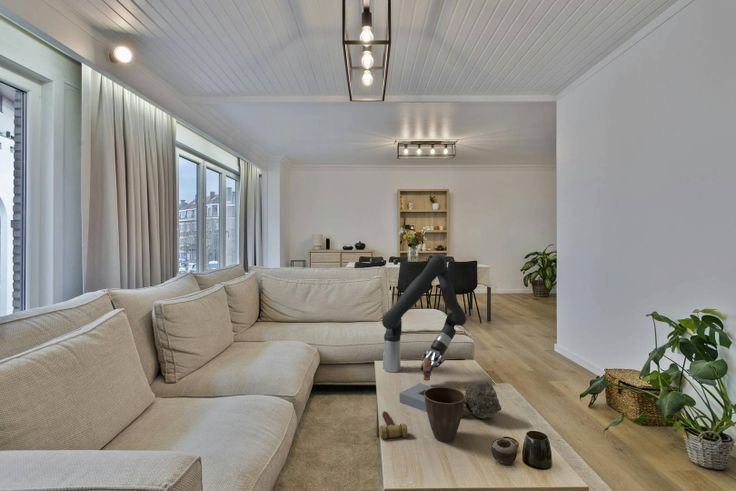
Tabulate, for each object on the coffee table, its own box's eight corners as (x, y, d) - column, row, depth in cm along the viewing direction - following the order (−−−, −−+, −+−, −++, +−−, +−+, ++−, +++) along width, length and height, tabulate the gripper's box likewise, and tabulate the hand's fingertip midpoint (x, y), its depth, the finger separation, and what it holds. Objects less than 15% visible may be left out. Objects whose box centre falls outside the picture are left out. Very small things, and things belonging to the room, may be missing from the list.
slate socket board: (399, 401, 167) (399, 393, 167) (419, 391, 178) (419, 383, 178) (432, 414, 154) (432, 405, 154) (452, 402, 166) (452, 393, 166)
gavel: (372, 407, 155) (395, 405, 157) (372, 418, 155) (395, 416, 156) (381, 428, 135) (407, 426, 136) (381, 441, 134) (407, 439, 136)
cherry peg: (421, 379, 185) (421, 359, 185) (425, 377, 188) (425, 357, 188) (428, 381, 182) (428, 361, 182) (432, 379, 185) (432, 359, 185)
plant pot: (436, 422, 147) (436, 383, 147) (471, 435, 138) (471, 393, 137) (416, 438, 136) (416, 395, 135) (453, 453, 126) (453, 407, 126)
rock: (497, 375, 153) (465, 372, 149) (507, 411, 143) (473, 409, 139) (475, 392, 165) (445, 389, 162) (484, 426, 156) (452, 424, 152)
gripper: (428, 336, 195) (410, 363, 188) (448, 342, 183) (430, 371, 176) (435, 344, 198) (418, 371, 191) (455, 351, 186) (438, 379, 179)
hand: (424, 371), depth 184 cm, fingers closed on cherry peg, 4 cm apart
